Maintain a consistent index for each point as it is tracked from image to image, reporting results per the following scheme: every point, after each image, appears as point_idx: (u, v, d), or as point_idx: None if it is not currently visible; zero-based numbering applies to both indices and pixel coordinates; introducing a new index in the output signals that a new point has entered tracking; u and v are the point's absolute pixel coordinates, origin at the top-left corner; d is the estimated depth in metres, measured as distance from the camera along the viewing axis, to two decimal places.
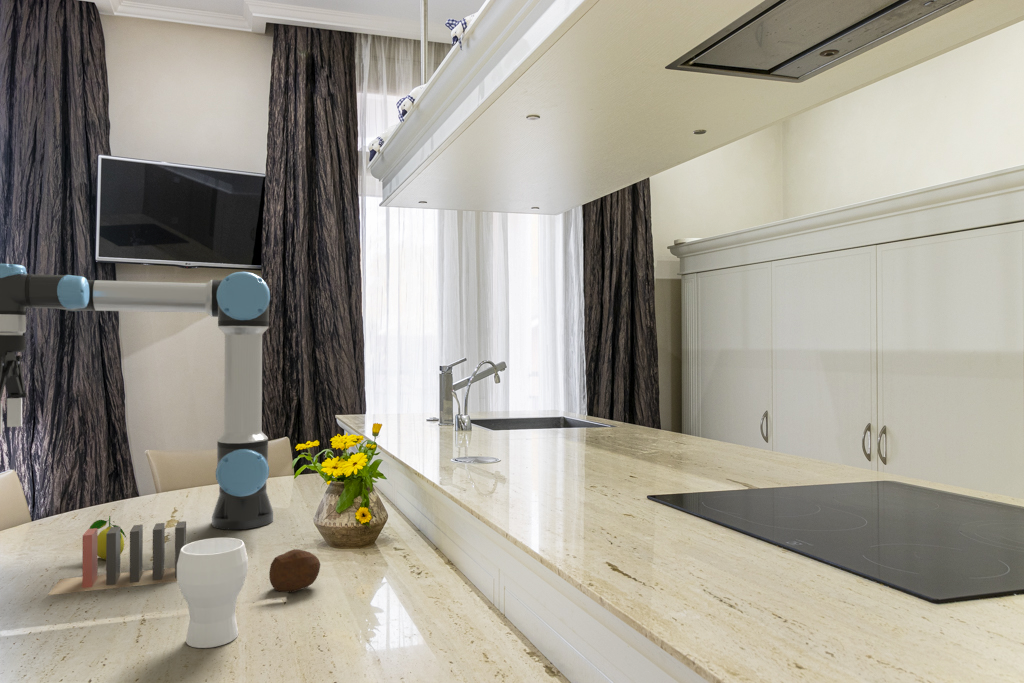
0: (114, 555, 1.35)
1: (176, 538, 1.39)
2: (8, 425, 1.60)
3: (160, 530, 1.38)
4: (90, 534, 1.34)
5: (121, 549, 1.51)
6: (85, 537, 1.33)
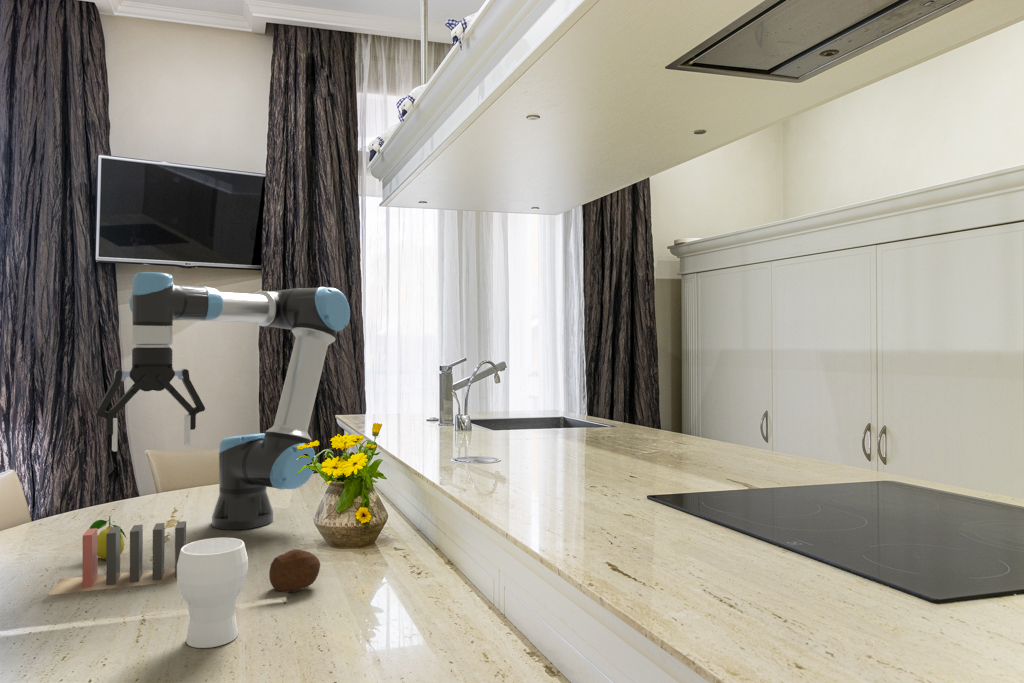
0: (114, 555, 1.35)
1: (176, 538, 1.39)
2: (184, 443, 1.50)
3: (160, 530, 1.38)
4: (90, 534, 1.34)
5: (121, 549, 1.51)
6: (85, 537, 1.33)
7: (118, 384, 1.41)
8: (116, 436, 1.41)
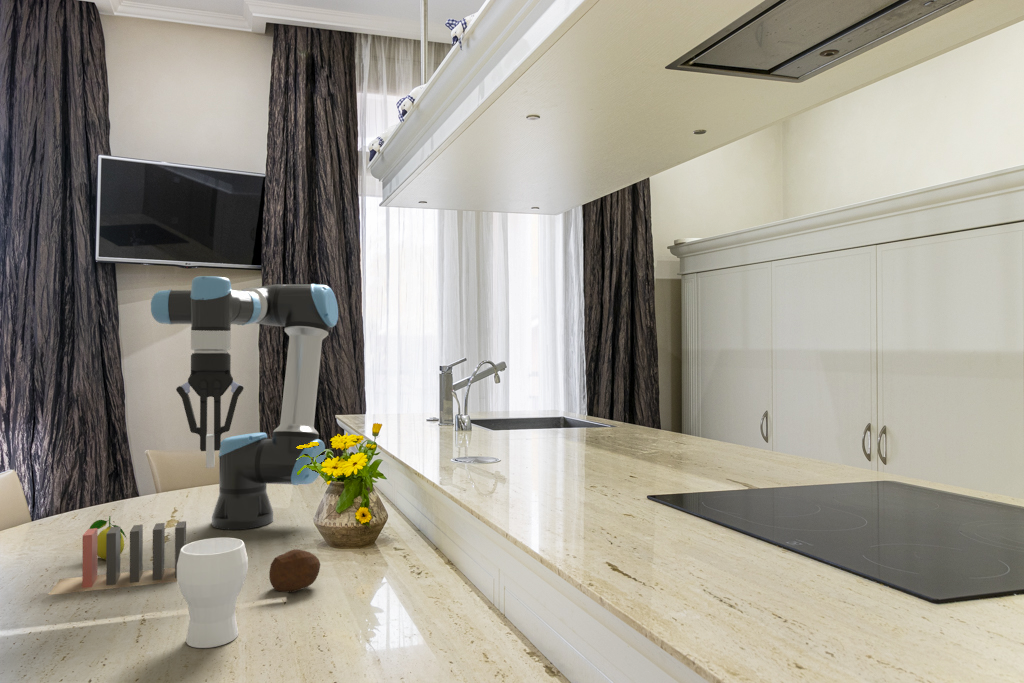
0: (114, 555, 1.35)
1: (176, 538, 1.39)
2: None
3: (160, 530, 1.38)
4: (90, 534, 1.34)
5: (121, 549, 1.51)
6: (85, 537, 1.33)
7: (187, 398, 1.41)
8: (209, 453, 1.42)
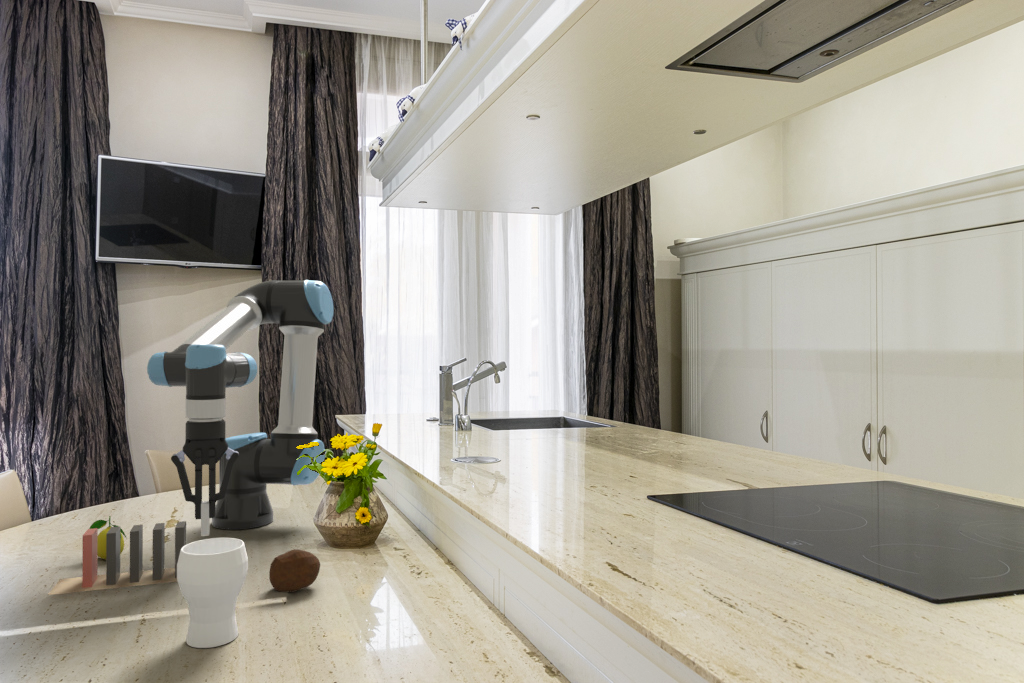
0: (114, 555, 1.35)
1: (176, 538, 1.39)
2: None
3: (160, 530, 1.38)
4: (90, 534, 1.34)
5: (121, 549, 1.51)
6: (85, 537, 1.33)
7: (182, 467, 1.40)
8: (204, 521, 1.42)
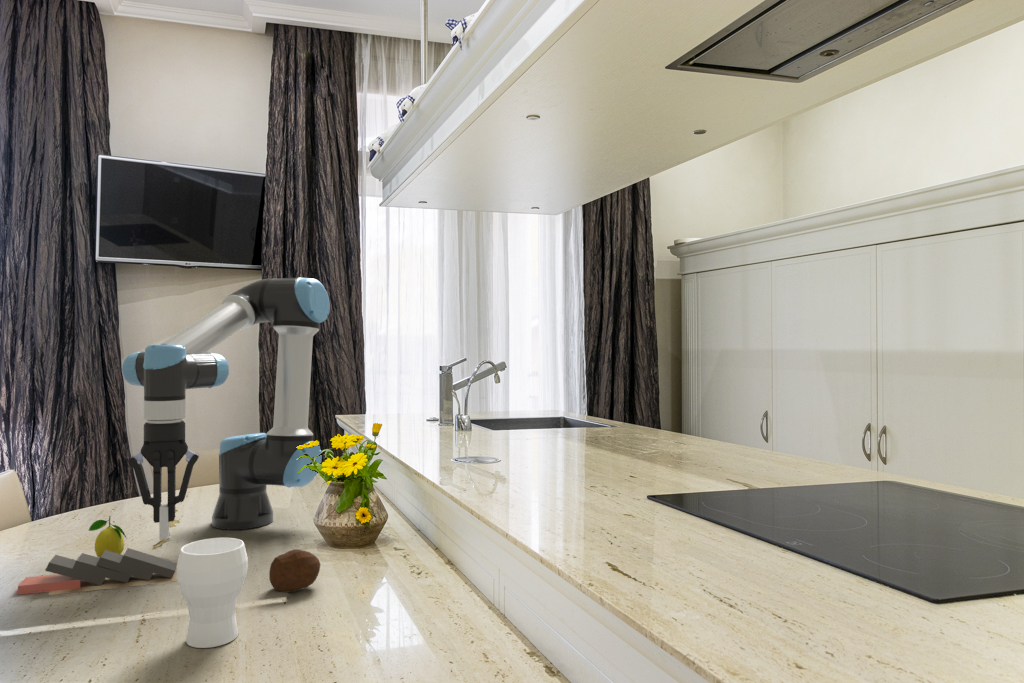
0: (73, 570, 1.33)
1: (131, 565, 1.36)
2: None
3: (101, 558, 1.34)
4: None
5: (121, 549, 1.51)
6: (20, 592, 1.30)
7: (139, 469, 1.38)
8: (162, 524, 1.39)
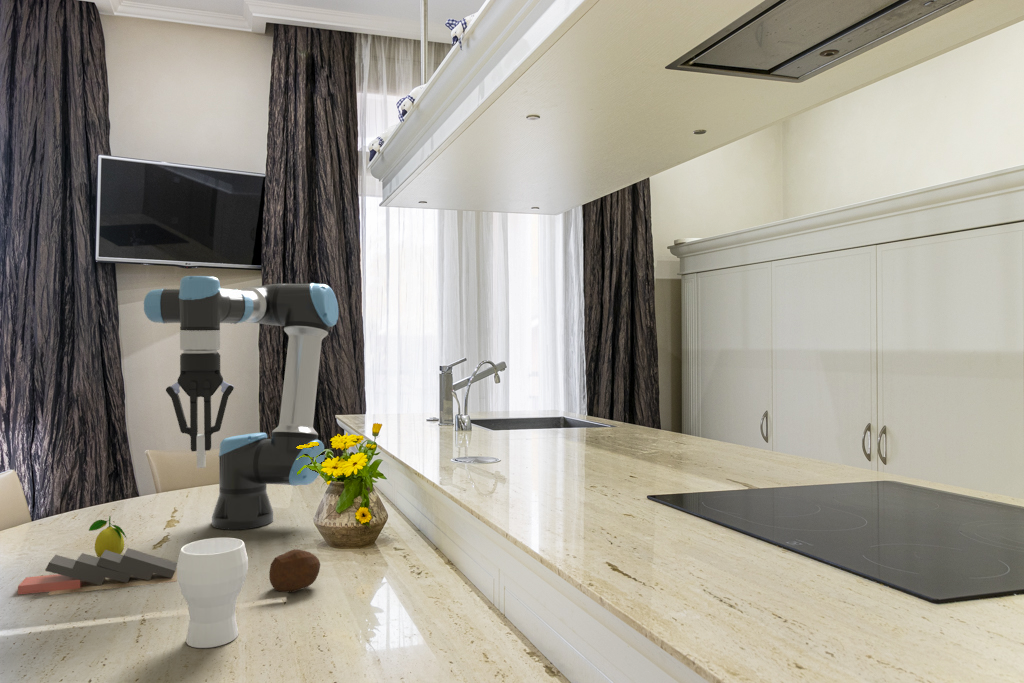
0: (73, 570, 1.33)
1: (131, 565, 1.36)
2: None
3: (101, 558, 1.34)
4: None
5: (121, 549, 1.51)
6: (20, 592, 1.30)
7: (177, 398, 1.40)
8: (199, 453, 1.42)
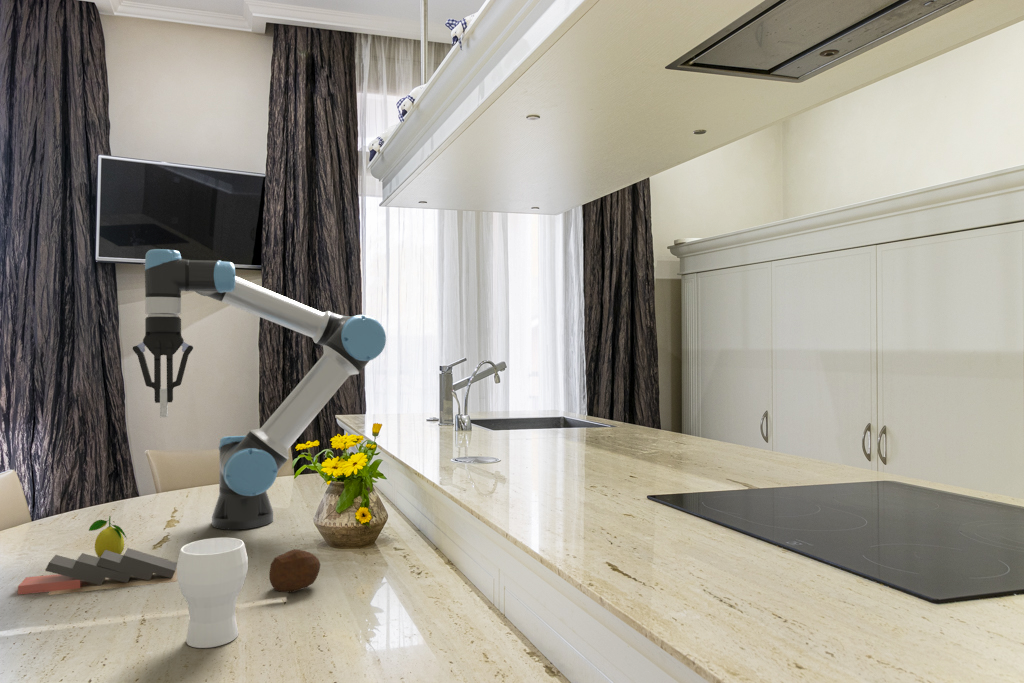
0: (73, 570, 1.33)
1: (131, 565, 1.36)
2: None
3: (101, 558, 1.34)
4: None
5: (121, 549, 1.51)
6: (20, 592, 1.30)
7: (142, 356, 1.61)
8: (162, 404, 1.62)
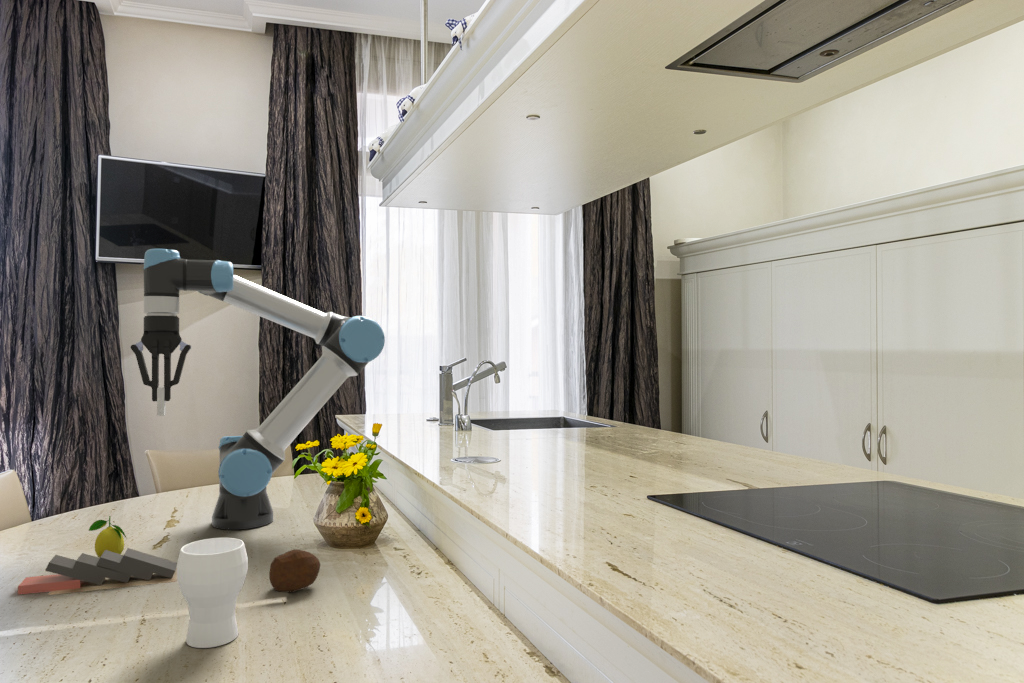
0: (73, 570, 1.33)
1: (131, 565, 1.36)
2: None
3: (101, 558, 1.34)
4: None
5: (121, 549, 1.51)
6: (20, 592, 1.30)
7: (140, 354, 1.62)
8: (159, 403, 1.63)
